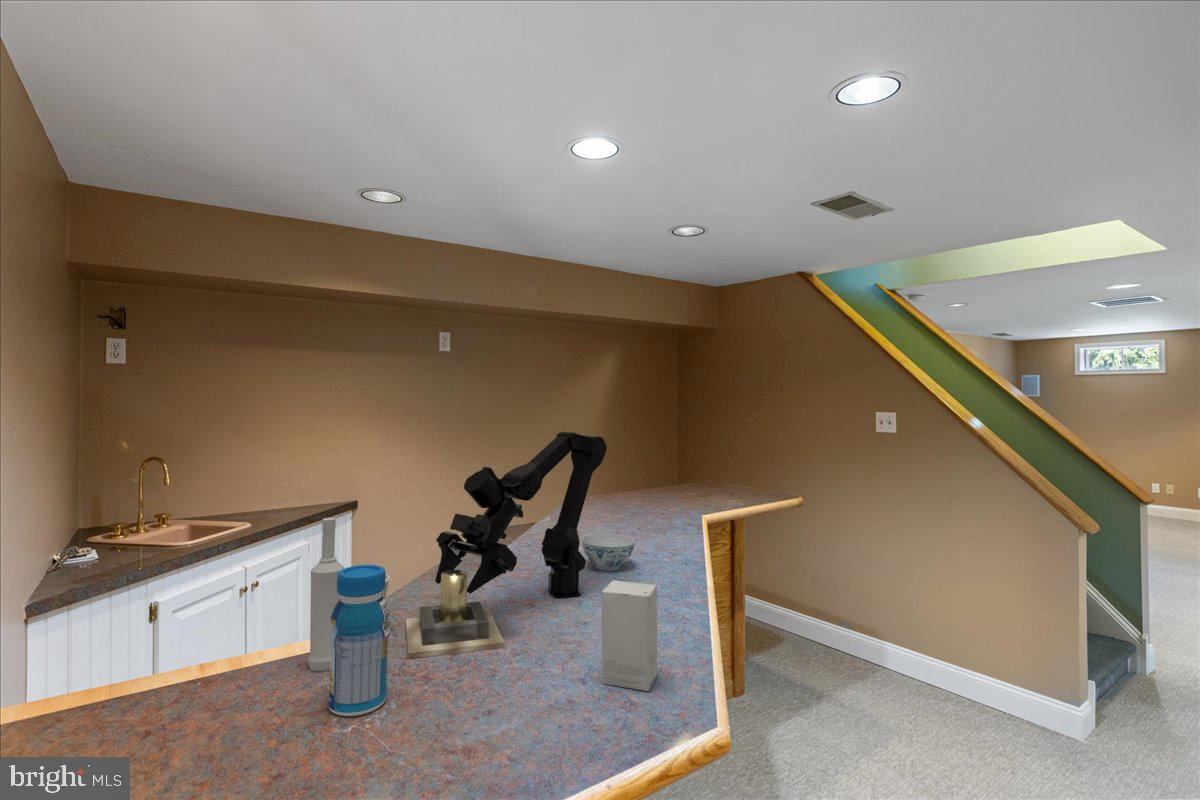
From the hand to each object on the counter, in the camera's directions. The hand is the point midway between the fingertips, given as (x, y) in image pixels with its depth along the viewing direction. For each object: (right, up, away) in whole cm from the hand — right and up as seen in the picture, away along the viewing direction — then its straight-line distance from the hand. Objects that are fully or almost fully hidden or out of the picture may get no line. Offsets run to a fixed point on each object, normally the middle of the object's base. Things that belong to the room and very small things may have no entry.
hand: (452, 587), depth 112 cm
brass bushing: (0, -8, 0) cm, 8 cm away
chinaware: (+31, -11, +50) cm, 60 cm away
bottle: (-18, -9, -14) cm, 25 cm away
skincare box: (+34, -10, -16) cm, 39 cm away
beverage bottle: (-8, -9, -26) cm, 28 cm away
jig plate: (0, -9, 0) cm, 9 cm away
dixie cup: (-18, -9, +2) cm, 20 cm away
